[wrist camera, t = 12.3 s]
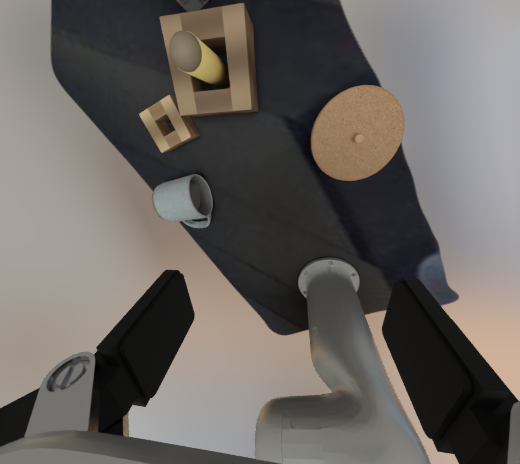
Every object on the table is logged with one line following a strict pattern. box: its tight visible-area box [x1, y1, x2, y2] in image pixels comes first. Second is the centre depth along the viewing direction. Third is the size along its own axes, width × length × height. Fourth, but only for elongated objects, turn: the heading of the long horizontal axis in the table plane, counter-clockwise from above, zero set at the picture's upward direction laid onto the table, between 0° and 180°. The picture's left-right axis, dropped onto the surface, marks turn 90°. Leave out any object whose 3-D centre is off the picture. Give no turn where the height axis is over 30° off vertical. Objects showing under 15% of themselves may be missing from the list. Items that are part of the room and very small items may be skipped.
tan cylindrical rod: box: [169, 31, 230, 89], centre depth 25 cm, size 3×3×14 cm
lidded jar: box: [311, 85, 404, 181], centre depth 28 cm, size 11×11×9 cm
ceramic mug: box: [152, 174, 213, 228], centre depth 38 cm, size 11×8×8 cm
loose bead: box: [139, 95, 200, 153], centre depth 33 cm, size 6×6×4 cm
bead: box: [159, 3, 258, 117], centre depth 28 cm, size 10×10×6 cm
